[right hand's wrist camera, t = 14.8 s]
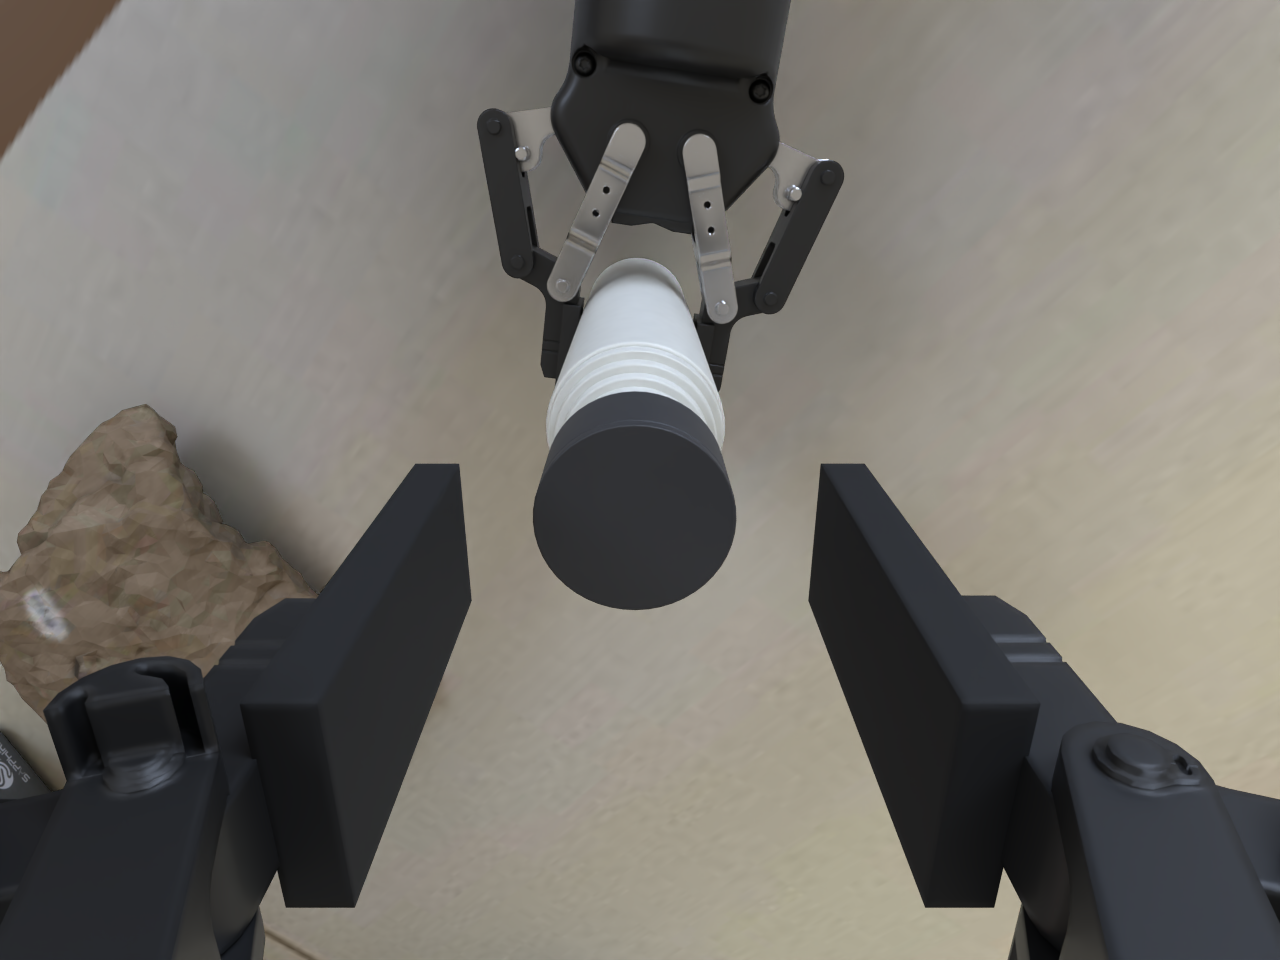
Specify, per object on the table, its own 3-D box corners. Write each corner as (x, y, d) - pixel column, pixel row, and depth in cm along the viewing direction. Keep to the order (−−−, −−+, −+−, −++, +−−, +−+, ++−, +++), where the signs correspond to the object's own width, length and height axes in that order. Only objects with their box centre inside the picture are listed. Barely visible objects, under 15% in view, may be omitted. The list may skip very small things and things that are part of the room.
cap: (605, 584, 19) (601, 641, 16) (511, 446, 17) (492, 488, 15) (755, 505, 18) (771, 554, 16) (668, 356, 17) (672, 386, 14)
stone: (-89, 559, 40) (-164, 622, 34) (152, 382, 40) (116, 417, 35) (232, 787, 49) (213, 864, 44) (425, 644, 50) (430, 703, 44)
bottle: (620, 371, 40) (596, 651, 17) (570, 289, 38) (470, 474, 15) (702, 324, 39) (792, 551, 16) (654, 238, 37) (679, 354, 15)
